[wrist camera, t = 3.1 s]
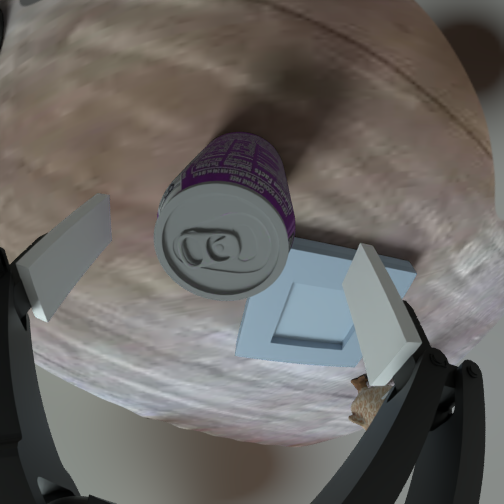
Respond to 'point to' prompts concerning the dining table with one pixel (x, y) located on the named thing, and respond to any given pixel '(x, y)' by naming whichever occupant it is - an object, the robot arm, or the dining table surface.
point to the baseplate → (310, 308)
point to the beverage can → (227, 220)
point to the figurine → (366, 402)
